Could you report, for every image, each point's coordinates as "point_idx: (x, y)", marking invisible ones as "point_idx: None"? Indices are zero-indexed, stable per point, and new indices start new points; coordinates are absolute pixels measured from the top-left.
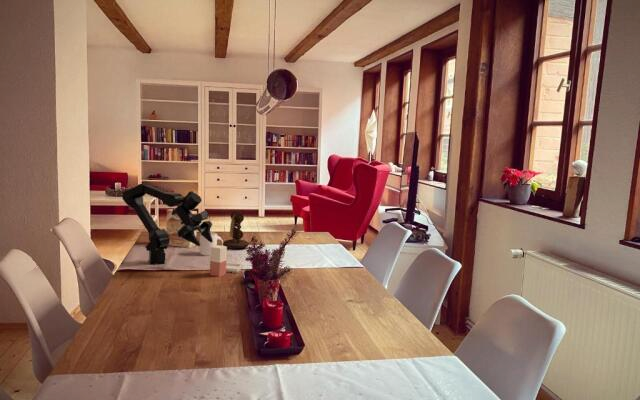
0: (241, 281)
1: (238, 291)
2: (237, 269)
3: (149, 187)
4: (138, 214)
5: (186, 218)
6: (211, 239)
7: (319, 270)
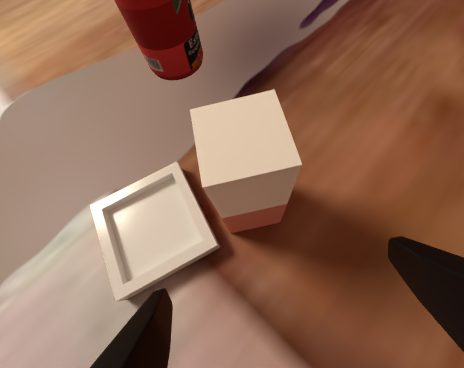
0: None
1: (326, 39)
2: (177, 162)
3: None
4: None
5: None
6: (157, 303)
7: (9, 56)
